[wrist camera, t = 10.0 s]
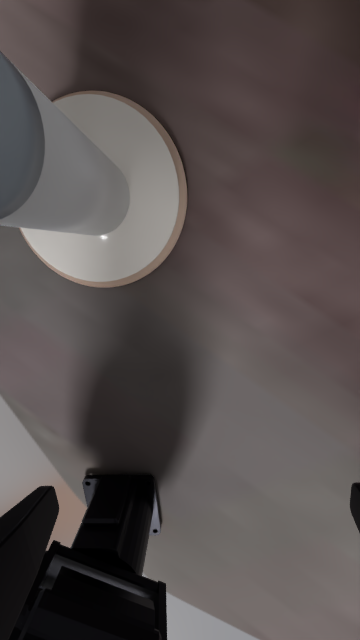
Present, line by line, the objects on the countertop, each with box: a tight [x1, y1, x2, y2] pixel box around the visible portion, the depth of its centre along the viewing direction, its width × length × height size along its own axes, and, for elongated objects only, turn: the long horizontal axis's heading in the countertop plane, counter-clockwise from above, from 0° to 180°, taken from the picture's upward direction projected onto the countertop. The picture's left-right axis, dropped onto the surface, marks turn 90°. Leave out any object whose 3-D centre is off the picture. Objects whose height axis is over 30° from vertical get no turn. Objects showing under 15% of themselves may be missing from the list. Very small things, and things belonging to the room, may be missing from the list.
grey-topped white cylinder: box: [0, 52, 130, 236], centre depth 12 cm, size 5×5×11 cm
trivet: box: [19, 90, 187, 288], centre depth 18 cm, size 12×12×1 cm
